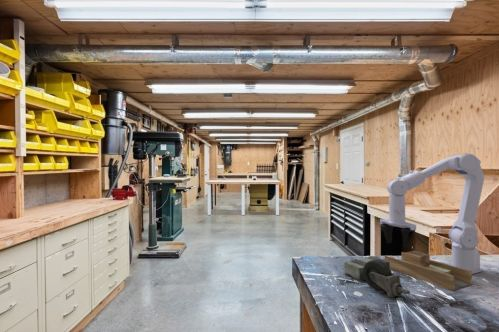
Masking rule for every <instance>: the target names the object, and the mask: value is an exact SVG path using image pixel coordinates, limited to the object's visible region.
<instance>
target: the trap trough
mask: <svg viewBox="0 0 499 332" xmlns="http://www.w3.org/2000/svg"><path fill="white" fill-rule="evenodd" d="M400 253H401V257H400V259H399V258H397V257H396V258H395V257H393V256H389V255H384V260H386V261H389V262H390V270H391V271H394V272H397V273H401V274H402V275H406V276H409V277H412V278H414V279H417V280H419V281H423V282H425V283H429V284H432V285H434V286H436V287H439V288H440V287H441V288H443V289H447V290H449V291H451V292H455V291H457V290H460V289H463V288H466V287H469V286H472V285H473V274H472V271H469V270H466V269H462V268H459V267H455V266H452V264H447V263H443V262H440V261H436V260H433V259H430V266H427V267H423V266H419V265H416V264H413V263H409V262H406V261H404V253H405V252H400Z"/></svg>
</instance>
